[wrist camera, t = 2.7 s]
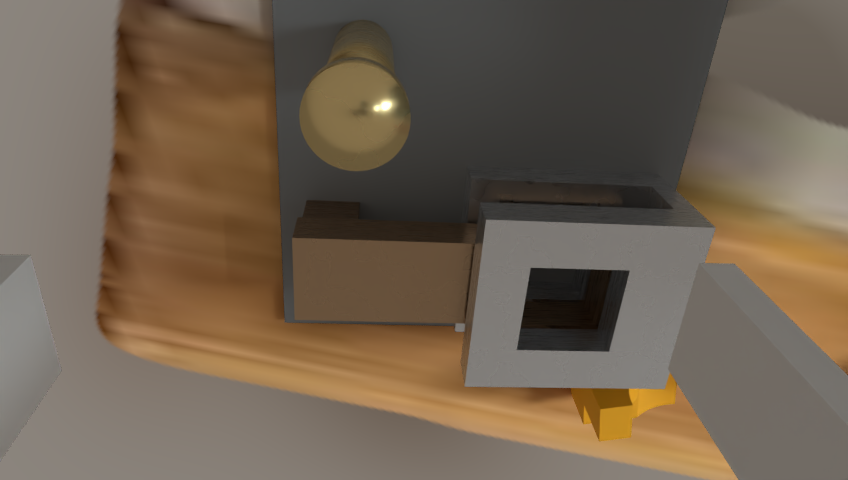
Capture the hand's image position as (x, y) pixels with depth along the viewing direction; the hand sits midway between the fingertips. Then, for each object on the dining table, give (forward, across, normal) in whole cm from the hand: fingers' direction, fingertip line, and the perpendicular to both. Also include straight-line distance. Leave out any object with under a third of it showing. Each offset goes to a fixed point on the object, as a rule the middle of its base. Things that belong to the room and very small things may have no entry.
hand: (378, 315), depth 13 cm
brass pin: (+22, -1, +1) cm, 23 cm away
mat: (+23, +6, -5) cm, 24 cm away
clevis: (+22, +6, -10) cm, 25 cm away
